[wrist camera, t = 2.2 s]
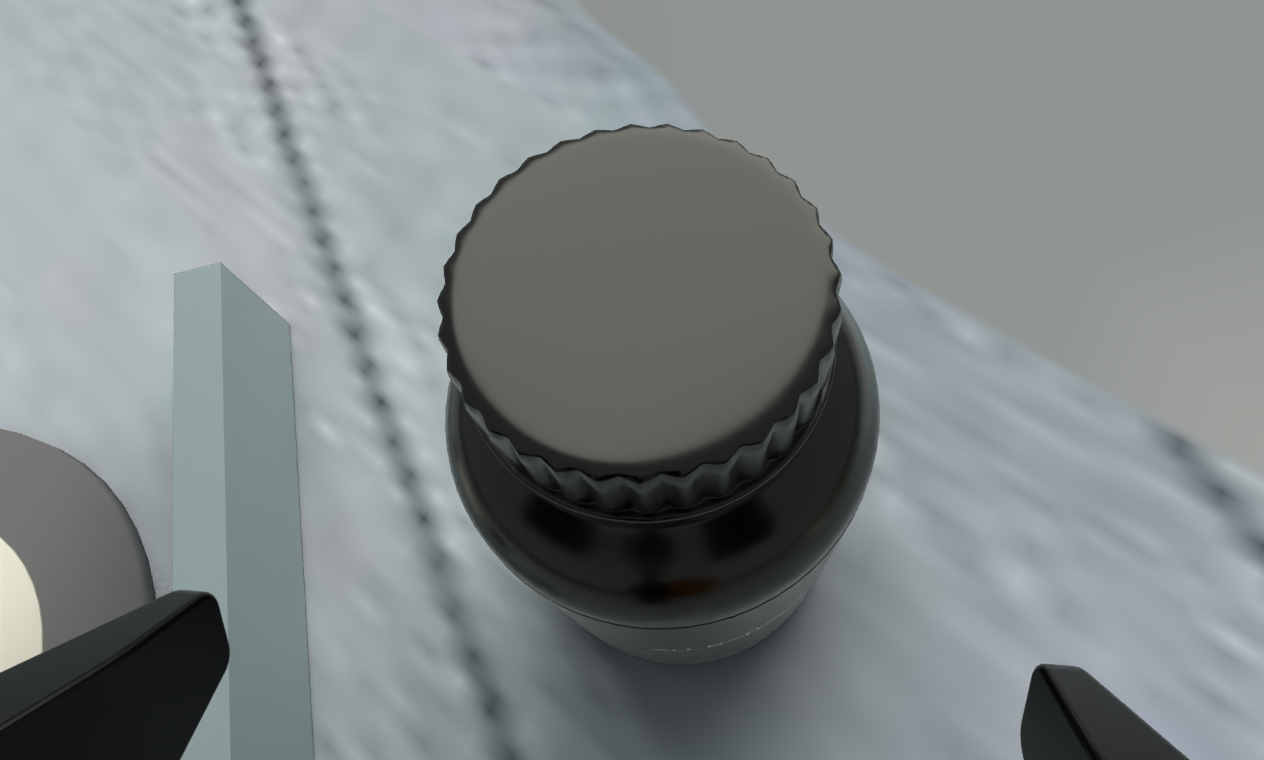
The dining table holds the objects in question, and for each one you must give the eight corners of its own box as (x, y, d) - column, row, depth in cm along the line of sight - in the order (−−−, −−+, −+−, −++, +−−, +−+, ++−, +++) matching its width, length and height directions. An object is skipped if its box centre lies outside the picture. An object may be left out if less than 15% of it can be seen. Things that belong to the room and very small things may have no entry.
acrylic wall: (326, 981, 18) (235, 1037, 15) (272, 993, 18) (170, 1052, 15) (289, 324, 24) (220, 262, 21) (249, 333, 24) (174, 273, 21)
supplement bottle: (725, 731, 19) (708, 740, 8) (492, 558, 21) (219, 373, 10) (879, 481, 21) (1045, 200, 10) (650, 345, 23) (567, -17, 12)
